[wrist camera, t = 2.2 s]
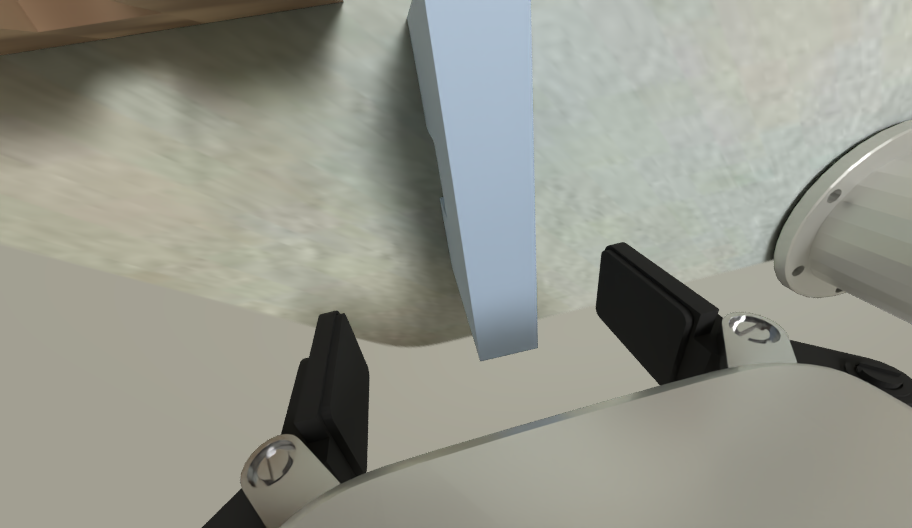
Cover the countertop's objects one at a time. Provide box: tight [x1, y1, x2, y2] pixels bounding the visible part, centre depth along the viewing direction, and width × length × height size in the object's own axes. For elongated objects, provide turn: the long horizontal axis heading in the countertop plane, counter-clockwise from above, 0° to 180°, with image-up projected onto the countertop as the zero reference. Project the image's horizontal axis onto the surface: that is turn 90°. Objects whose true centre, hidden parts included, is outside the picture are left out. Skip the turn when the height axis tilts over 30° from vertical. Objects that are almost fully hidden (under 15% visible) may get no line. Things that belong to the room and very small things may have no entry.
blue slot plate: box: [407, 0, 538, 361], centre depth 13 cm, size 12×2×8 cm, turn 8°
